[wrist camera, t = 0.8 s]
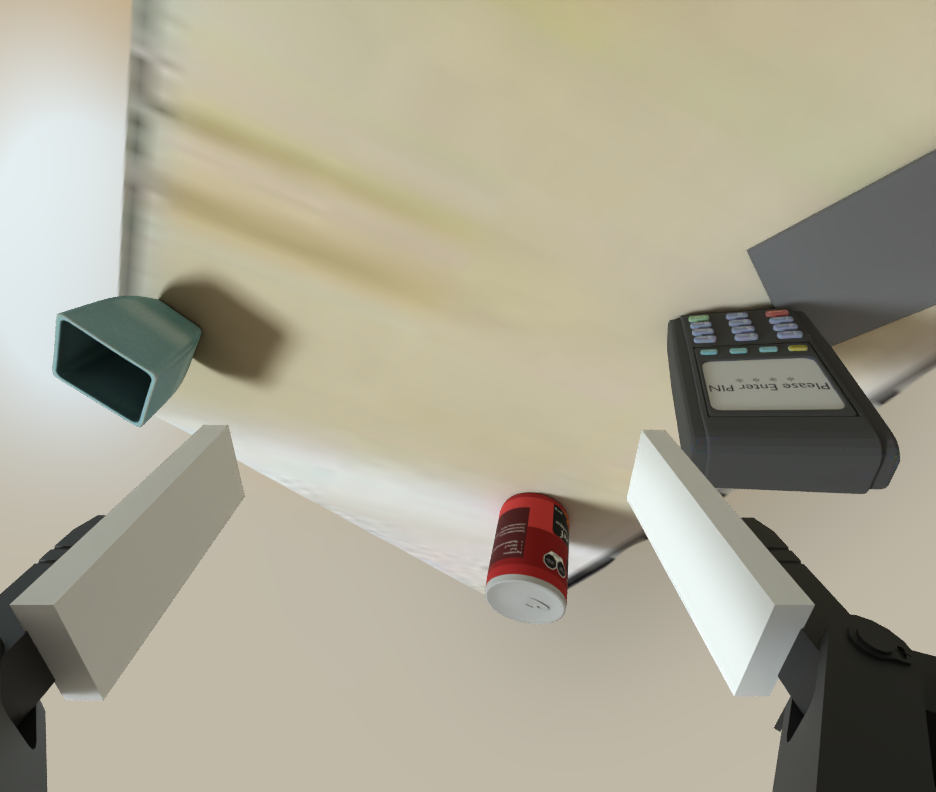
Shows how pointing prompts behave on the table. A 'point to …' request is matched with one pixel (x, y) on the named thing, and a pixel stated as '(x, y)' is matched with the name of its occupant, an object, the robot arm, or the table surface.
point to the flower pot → (125, 353)
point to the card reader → (773, 406)
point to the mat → (859, 256)
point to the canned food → (530, 560)
